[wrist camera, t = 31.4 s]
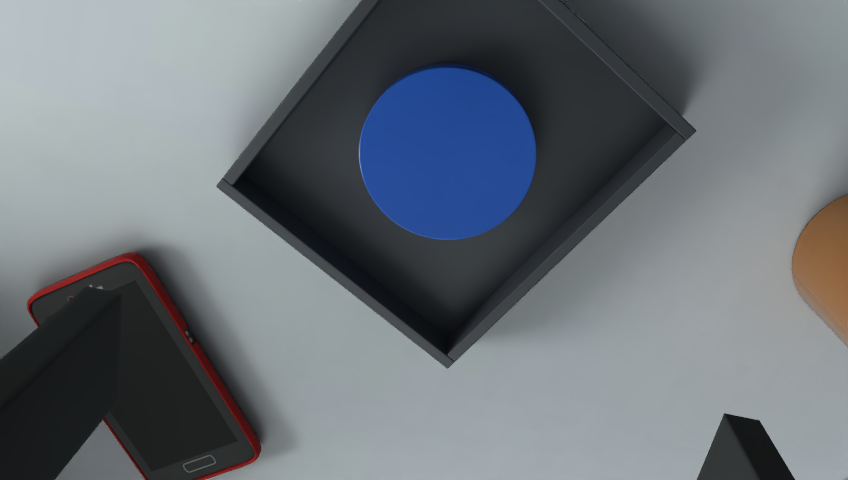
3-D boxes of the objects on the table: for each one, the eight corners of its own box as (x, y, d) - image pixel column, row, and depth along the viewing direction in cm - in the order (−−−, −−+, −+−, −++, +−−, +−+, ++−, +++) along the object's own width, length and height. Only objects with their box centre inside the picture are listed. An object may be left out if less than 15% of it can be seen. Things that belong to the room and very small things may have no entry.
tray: (448, -104, 32) (446, -109, 30) (682, 118, 35) (697, 130, 33) (232, 171, 38) (215, 186, 36) (449, 344, 41) (447, 369, 38)
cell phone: (162, 486, 46) (156, 497, 45) (28, 293, 41) (18, 301, 40) (268, 450, 44) (263, 460, 43) (140, 244, 40) (132, 251, 39)
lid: (454, 260, 38) (453, 273, 37) (329, 156, 37) (322, 165, 35) (570, 142, 36) (574, 151, 34) (440, 23, 34) (438, 27, 32)
